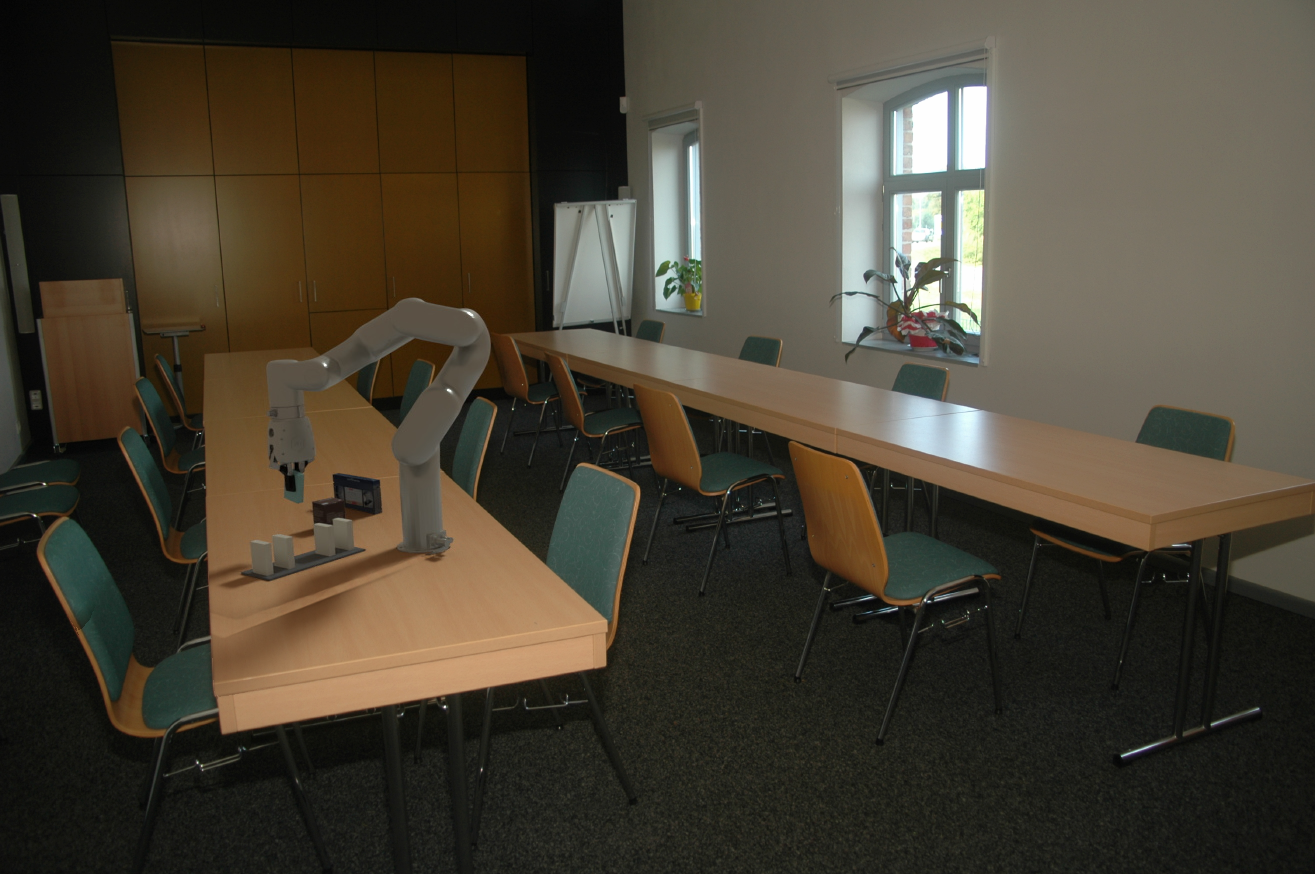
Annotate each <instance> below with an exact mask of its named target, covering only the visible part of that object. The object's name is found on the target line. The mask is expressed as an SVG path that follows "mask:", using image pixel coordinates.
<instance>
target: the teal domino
mask: <svg viewBox="0 0 1315 874" xmlns="http://www.w3.org/2000/svg"><path fill="white" fill-rule="evenodd" d="M292 470H293V468H292ZM293 475H295V484H296V492H290V491H286V488H285V481H284V486H283V487H284V489H283V491H284V492H283V498H284V499H286V500H289V501H290V502H293V503H294V504H302V503H304V497H305V496H304V494H305V493H304V490H305V474H304V473H300V472H297V471H295V470H293Z"/></svg>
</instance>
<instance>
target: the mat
mask: <svg viewBox="0 0 1315 874" xmlns="http://www.w3.org/2000/svg"><path fill="white" fill-rule="evenodd" d="M365 551H366V548H364V547H363V548H362V547H357V546H354V549H352V550H344V549H339V548H335V555H333V556H326V555H321V554H316V551H315V549H314V550H310V551H307V552H304V553H303V552H302V553H301V554H297V555H294V559H295V567H294V568H291V569H286V568H282V567H278V566H275V563H274V561H273V572H274V574H272V575H268V576H266V575H262V574H257V573H253V568H251V569H250V568H249V569H246V570H244V571H240V574H241V575H244V576H248V577H252V578H256V579H261V580H264V581H269V582H271V581H274V580H277V579H280V578H284V577H286V576H290V575H293V574H296V573H299V572H303V571H305V570H308V569H312V568H315V567H318V566H320V565H324V564H325V565H326V564H328V563H331V562H334V561H337V560H341V559H344V558H346V557H350V556H353V555H356V554H360V553H362V552H365Z"/></svg>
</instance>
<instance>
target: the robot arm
mask: <svg viewBox="0 0 1315 874" xmlns="http://www.w3.org/2000/svg"><path fill="white" fill-rule="evenodd" d="M414 339H418V340H421V341H427V342H432V343H438V344H442V345H446V346H447V345H448V346H452V347H453V349H452V352H451V353H450V355H449V357H448V358H447V360H446V361H445V363H444V364H443V367H442V368H441V369H440V370H439V372H438V374H437V376H435V378H434V380H433V381H432V382H431V384H430V385H429V386H427V387H426V388H425V389H424V390H423V391H422V392H421V393H420V395H419V396H418V397H417V399H416V400H415V402H414V404H413V405H412V407H411V408H410V410H409V411H408V413H407V414H406V416H405V417H404V418H403V420H402V422H401V423H400V424H399V426H398V427H397V430H396V431H395V433H394V434H393V437H392V439H391V442H390V443H391V444H390V448H391V452H392V454H393V457H394V458H395V459H396V461H398V477H399V478H398V479H399V495H400V496H399V497H400V511H401V513H400V514H401V526H402V527H401V528H402V529H401V530H402V541H401V542H399V543H398V544H397V545H396V550H398V551H400V552H403V553H408V554H423V553H426V554H425V556H426V555H427V556H428V555H433V554H434V555H435V554H438V553H442V552H445V551H447V550H448V549H450V548H451V544H452V543H453V542H454V538H453V537H450V536H447V530H445V529H444V523H443V506H442V503H443V502H442V487H441V486H442V485H441V484H442V483H441V481H442V480H441V464H440V463H441V456H440V455H441V451H440V450H441V446H440V445H441V442H442V440H443V439H444V437H445V435H446V434H447V432H448V431H449V430H450V428H451V427H452V425H453V423H454V422H455V420H456V419H457V417H458V416H459V414H460V413H461V410H462V407H463V405H464V403H465V402H466V400H467V398H468V397H469V395H470V394H471V392H472V390H473V389H474V387H475V386H476V384H477V382H478V380H479V379H480V377H481V375H482V374H483V372H484V371H485V368H486V366H487V365H488V361H489V359H490V356H491V350H492V349H491V337H490V332H489V329H488V328H487V324H486V323H485V320H483V318H482V317H481V316H480V314H479V313H477V311H475V310H473V309H470V308H467V307H466V308H462V307H461V308H456V307H451V306H445V305H441V304H435V303H431V302H427V301H424V300H423V299H421V298H417V297H408V298H404V299H401V300H399V301H398V302H397V303H396V304H395V305H394V306H393V307H391V308H389V309H388V310H386V311H385V312H383V313H381V314H380V315H378V316H376V317H375V318H373V319H371V320H370V321H368V322H367V323H364V324H363V325H361V326H360V327H358V329H356V330H355V332H353V334H352V335H351V336H349V337H348V338H347V339H346V340H344V341H343V342H341V343H339V344H338V345H336V346H335V347H333V348H331V349H330V350H328V351H326V352H325V353H322V354H321V355H319V356H317V357H314V358H311V359H307V360H302V361H301V360H296V359H275V360H271V361H269V362H268V363H267V364H266V372H265V373H266V379H267V380H266V381H267V391H268V392H267V393H268V401H269V402H268V403H269V410H267V411H266V412H265V414H266V417H267V418H269V417H270V420H269V421H268V424H267V425H268V426H267V435H266V436H267V437H266V438H267V444H266V445H267V455H268V460H269V463H268V468H269V469H272V470H277V471H278V472H280V474H281V475H283V478H284V482H285V488H286V491H290V492H296V484H295V475H293V470H295V471H297V472H300V473H302V474H304V473H305V471H306V468H307V466H308V465H309V464H310V463H313V462H314V461H315V456H316V454H317V449H316V448H317V447H316V442H315V435H314V431H313V427H312V424H311V423H312V422H311V421H310V418H309V416H306V407H305V397H304V396H305V395H304V392H314V393H315V392H317V393H318V392H323V391H325V390H327V389H329V388H331V387H333V386H335V385H337V384H338V383H340V382H342V381H343V380H344V379H347V378H348V377H349V376H351V375H353V374H354V373H356V372H358V371H360V370H361V369H363V368H365V367H366V366H369V365H370V364H372V363H376V362H378V361H379V360H380V359H381V360H382V358H384V357H386V356H387V355H389V354H390V353H392V352H394V351H396V350H398V349H399V348H400V347H403V346H404V345H405V344H407V343H409V342H411V341H412V340H414ZM292 469H293V470H292Z"/></svg>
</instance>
